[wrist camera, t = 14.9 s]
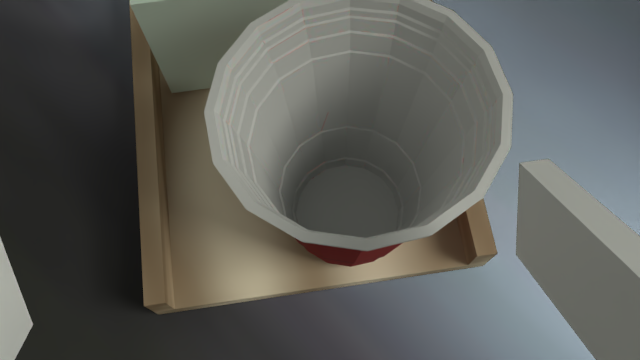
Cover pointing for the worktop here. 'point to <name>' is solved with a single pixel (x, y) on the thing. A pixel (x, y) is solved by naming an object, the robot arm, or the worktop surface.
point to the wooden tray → (242, 217)
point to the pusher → (195, 35)
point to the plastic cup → (359, 122)
